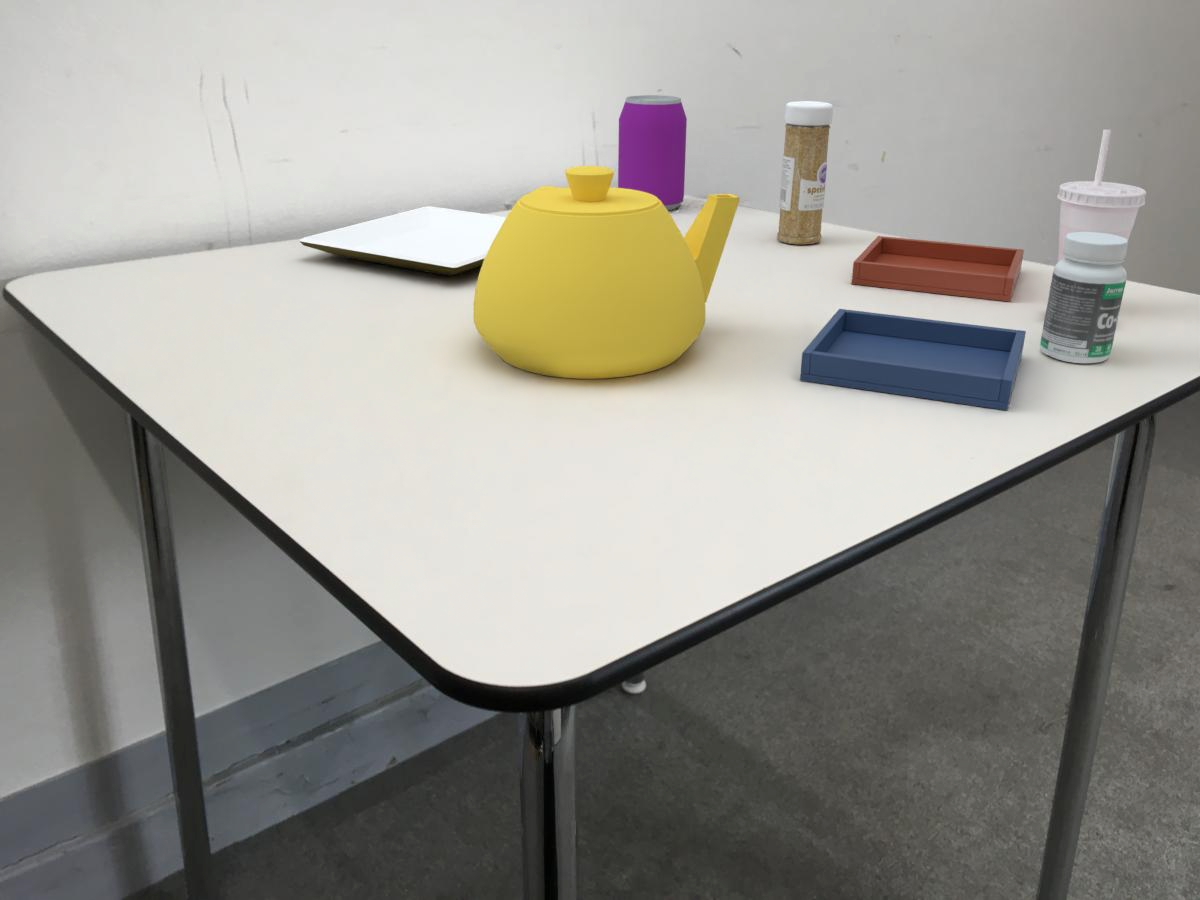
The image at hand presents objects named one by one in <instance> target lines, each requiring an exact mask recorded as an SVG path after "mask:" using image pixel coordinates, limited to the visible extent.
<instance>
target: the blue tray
mask: <svg viewBox="0 0 1200 900" xmlns="http://www.w3.org/2000/svg"><path fill="white" fill-rule="evenodd" d="M1026 333H1027V332H1026V330H1021V329H1013V328H1004V327H994V326H987V325H978V324H971V323H969V324H968V323H963V322H953V321H946V320H937V319H929V318H928V319H927V318H922V317H920V318H919V317H912V316H903V315H896V314H888V313H878V312H871V311H863V310H862V311H861V310H853V309H845V308H838V309H837V311H836V312H835V313H834V314H833V315H832V317H830V319H829V320H828V321H827V323H826V324H825V325H824V326H823V327H822V328H821V330H820V331H819V332H818V333H817V334H816V335H815V336H814V338H813V339H812V341H811V342H810V343H808V345H807V346H806V347H805V349H804V350H803V351H802V353H801V364H800V374H799V380H800V381H802V382H803V381H804V382H808V383H809V382H810V383H816V384H825V385H830V386H836V387H844V388H851V389H857V390H858V389H859V390H863V391H871V392H877V393H878V392H879V393H886V394H891V395H898V396H905V397H906V396H907V397H913V398H918V399H919V398H920V399H927V400H932V401H933V400H934V401H941V402H945V403H946V402H947V403H954V404H959V405H960V404H961V405H967V406H968V405H969V406H974V407H979V408H980V407H981V408H987V409H994V410H1002V411H1008V410H1009V405H1010V402H1011V399H1012V395H1013V391H1014V387H1015V383H1016V379H1017V376H1018V372H1019V368H1020V364H1021V361H1022V356H1023V351H1024V344H1025V339H1026Z"/></svg>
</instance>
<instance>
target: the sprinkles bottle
mask: <svg viewBox="0 0 1200 900" xmlns="http://www.w3.org/2000/svg"><path fill="white" fill-rule="evenodd" d="M784 108H785V109H784V119H783V121H784V123H785V126H784V128H785V133H784V145H783V146H784V147H783V155H782V164H781V165H782V166H781V177H780V178H781V179H780V191H779V192H780V194H779V220H778V230H777V231H778V232H777V233H776V238H777V240H778V241H780V242H782V243H784V244H789V245H795V246H803V245H814V244H817V243H819V242H821V240H822V238H823V237H822V220H823V209H824V207H825V206H824V205H825V204H824V203H825V194H826V184H827V183H826V181H827V170H828V164H827V163H828V150H829V149H828V148H829V140H830V139H829V136H830V129H831V126H830V125H831V124H833V114H834V105H833V104H832V103H830V102H825V101H818V100H817V101H816V100H798V101H790V102H787V103H786V104H785V107H784Z"/></svg>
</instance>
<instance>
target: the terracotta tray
mask: <svg viewBox="0 0 1200 900" xmlns="http://www.w3.org/2000/svg"><path fill="white" fill-rule="evenodd" d="M1024 252H1025V249H1022V248H1011V247H999V246H991V245H990V246H989V245H980V244H967V243H959V242H958V243H957V242H947V241H936V240H925V239H915V238H905V237H893V236H883V235H876V237H875V238H874V240H873V241H871V242H870V244H869V245H868V246H867V247H866V248H865V249H864V250H863V252H862V253H860V254H859V255H858V257H857V258H856V259H855V260H854V261H853V264H852V275H851V282H850V283H851V285H855V286H863V287H864V286H865V287H873V288H882V289H883V288H885V289H892V290H902V291H910V292H920V293H926V294H927V293H929V294H937V295H945V296H947V295H948V296H954V297H955V296H956V297H965V298H974V299H983V300H989V301H990V300H991V301H999V302H1000V301H1001V302H1011V300H1012V296H1013V294H1014V291H1015V288H1016V286H1017V282H1018V279H1019V276H1020V273H1021V270H1022V264H1023V259H1024Z"/></svg>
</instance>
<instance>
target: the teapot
mask: <svg viewBox="0 0 1200 900" xmlns="http://www.w3.org/2000/svg"><path fill="white" fill-rule="evenodd" d="M564 174H565V178H566V181H567V184H568V186H566V187H558V186H556V185H555V186H554V185H545V186H541V187H537V188H535V189H534V190H532V191H531V192H529V193H526V194H524V195H522V196H521V197H520V198H519V199H518V200H517V201H516V202H515V204H514V205H513V207H512V208H511V210H510V211H509V212H508V214H507V216H505V217H506V219H505V221H504V223H503V224H502V226H501V228H500V230H499V231H498V233H497V235H496V237H495V238H494V240H493V242H492V244H491V246H490V248H489V250H488V252H487V255H486V257H485V259H484V261H483V264H482V266H480V270H479V273H478V277H477V281H476V286H475V290H474V297H473V298H474V299H473V324H474V326H475V329H476V331H477V334H479V336H480V337H481V339H483V341H484V342H485V343H486V344H487V345H488V346H489V347H490V348H491V349H492V350H493V352H494V353H495V354H496V355H498V356H499V358H501V359H502V360H503V361H504V362H506V364H509V365H510V366H513V367H515V368H518V369H520V370H523V371H526V372H530V373H533V374H536V375H543V376H548V377H555V378H565V379H584V380H586V379H589V380H591V379H593V380H596V379H614V378H622V377H629V376H630V377H631V376H635V375H642V374H646V373H650V372H653V371H656V370H659V369H663V368H665V367H667V366H669V365H671V364H673V363H675V362H676V361H677V360H678V359H679V358H680V357H681V356H682V355H683V354H684V353H686V351H687V350H688V349H689V348H690V347H691V346H692V345H693V343H694V342H695V341H696V340H697V339H698V337H700V335H701V333H702V331H703V329H704V327H705V323H706V303H707V301H708V297H709V294H710V292H711V289H712V286H713V282H714V279H715V276H716V273H717V270H718V267H719V264H720V261H721V258H722V255H723V252H724V249H725V246H726V243H727V240H728V237H729V234H730V231H731V228H732V225H733V222H734V219H735V216H736V212H737V209H738V206H739V203H740V196H738V195H735V194H732V193H719V194H718V193H714V194H712V193H711V194H707V199H706V201H705V203H704V205H702V207H701V209H700V211H699V213H698V214H697V216H696V217H695V219H694V220H693V222H692V224H691V225H690V227H689V229H688V230H687V231H686V233H685V235H683V234H682V232H681V230H680V228H679V227H678V225H677V223H676V221H675V220H674V218H673V217H672V215H671V212H669V210H667V209H666V208H665V206H664V205H663V203H662V202H661V201H660V200H659V199H658V198H657V197H656V196H654V195H652V194H649V193H646V192H642V191H638V190H632V189H624V188H618V187H613V186H611V184H612V182H613V179H614V175H615V170H614V169H612V168H610V167H607V166H601V165H577V166H576V165H575V166H572V167H569V168H567V169H565V170H564Z"/></svg>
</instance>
